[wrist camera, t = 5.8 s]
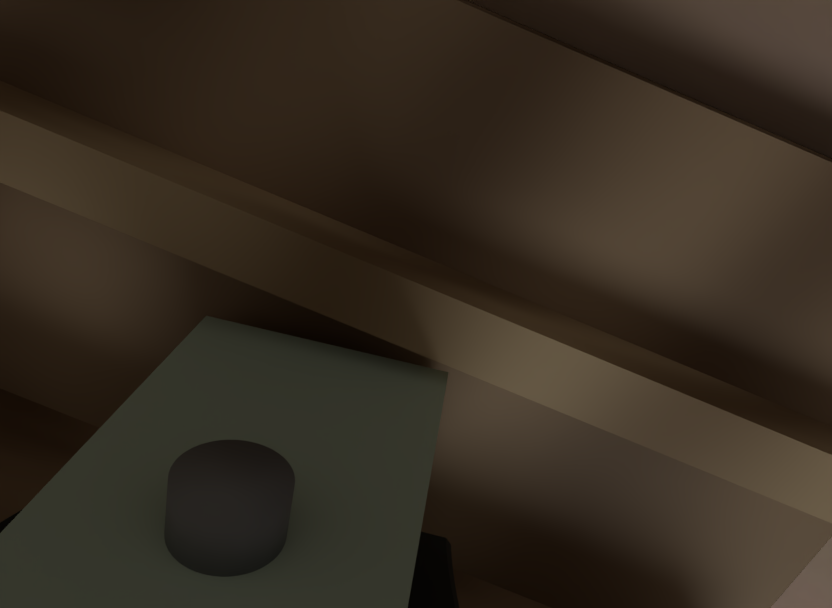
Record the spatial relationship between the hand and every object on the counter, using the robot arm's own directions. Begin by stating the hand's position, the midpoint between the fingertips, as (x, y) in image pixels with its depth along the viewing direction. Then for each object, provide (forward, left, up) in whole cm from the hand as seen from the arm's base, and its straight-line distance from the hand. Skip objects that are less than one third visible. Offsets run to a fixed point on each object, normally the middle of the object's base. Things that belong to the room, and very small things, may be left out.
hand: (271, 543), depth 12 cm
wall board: (0, -2, -4) cm, 5 cm away
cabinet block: (0, 0, -2) cm, 3 cm away
